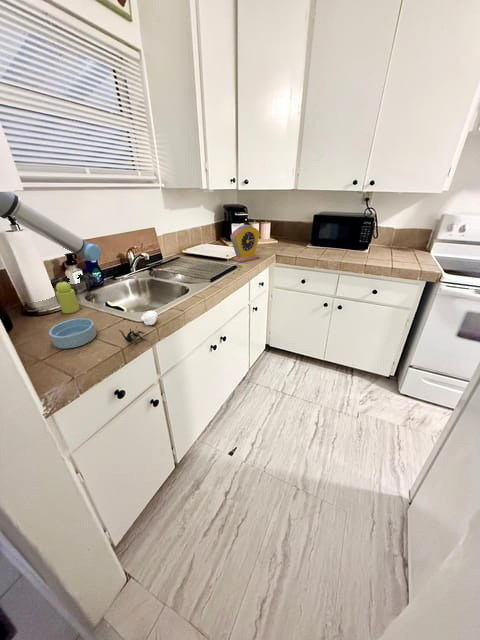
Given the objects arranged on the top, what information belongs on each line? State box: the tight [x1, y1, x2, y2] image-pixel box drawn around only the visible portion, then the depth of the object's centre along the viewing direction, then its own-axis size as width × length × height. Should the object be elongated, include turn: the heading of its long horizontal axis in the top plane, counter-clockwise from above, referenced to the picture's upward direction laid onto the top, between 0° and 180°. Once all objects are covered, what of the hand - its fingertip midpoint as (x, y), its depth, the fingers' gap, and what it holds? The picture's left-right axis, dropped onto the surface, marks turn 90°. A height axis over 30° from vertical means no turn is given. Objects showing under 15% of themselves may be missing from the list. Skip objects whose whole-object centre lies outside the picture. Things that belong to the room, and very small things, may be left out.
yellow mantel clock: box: [229, 224, 261, 264], centre depth 167 cm, size 22×9×22 cm, turn 131°
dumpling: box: [140, 310, 158, 326], centre depth 94 cm, size 7×5×4 cm
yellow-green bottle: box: [55, 278, 80, 314], centre depth 101 cm, size 6×6×13 cm
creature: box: [118, 326, 146, 344], centre depth 83 cm, size 8×5×8 cm
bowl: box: [48, 317, 97, 349], centre depth 84 cm, size 12×12×4 cm
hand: (68, 288), depth 107 cm, fingers open, 13 cm apart
